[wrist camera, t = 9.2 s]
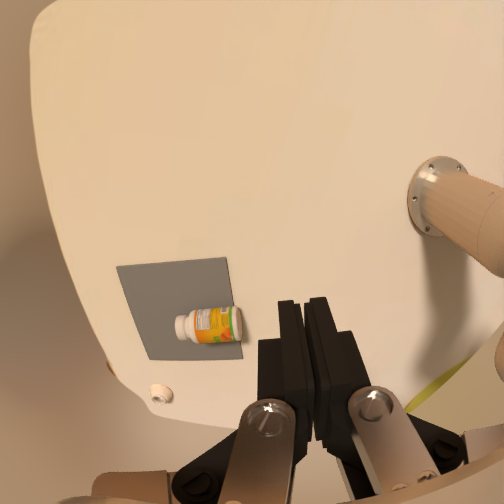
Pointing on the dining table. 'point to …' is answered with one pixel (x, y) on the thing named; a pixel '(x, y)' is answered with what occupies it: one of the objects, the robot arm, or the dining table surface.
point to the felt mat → (177, 305)
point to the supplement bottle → (210, 325)
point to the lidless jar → (160, 394)
